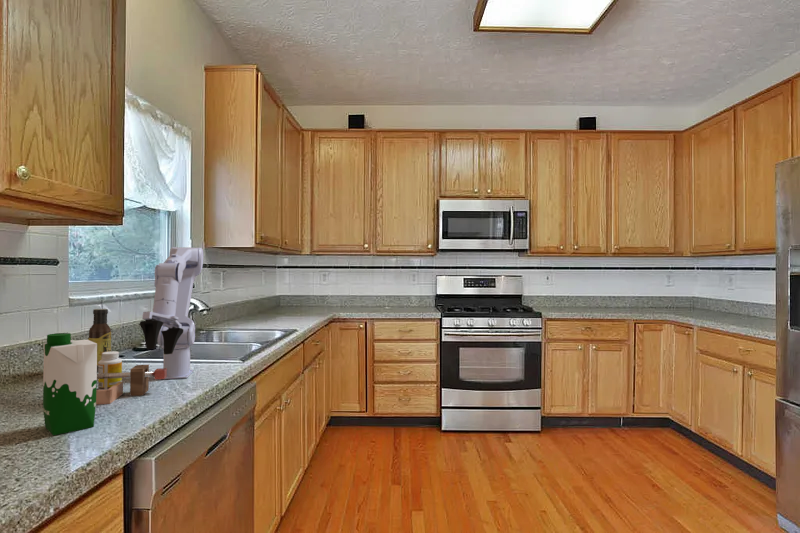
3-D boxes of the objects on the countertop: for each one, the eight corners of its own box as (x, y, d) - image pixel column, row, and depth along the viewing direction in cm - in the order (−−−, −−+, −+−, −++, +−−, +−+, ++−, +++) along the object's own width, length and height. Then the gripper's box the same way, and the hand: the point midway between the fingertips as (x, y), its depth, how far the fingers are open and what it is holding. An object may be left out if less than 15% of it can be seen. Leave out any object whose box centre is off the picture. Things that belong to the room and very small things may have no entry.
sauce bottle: (106, 371, 147) (107, 309, 147) (84, 372, 146) (85, 310, 146) (113, 367, 153) (114, 308, 153) (92, 368, 152) (93, 308, 152)
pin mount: (136, 390, 126) (136, 364, 126) (148, 390, 127) (148, 364, 127) (130, 396, 121) (130, 369, 121) (142, 395, 122) (142, 368, 122)
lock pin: (99, 379, 123) (99, 370, 123) (166, 376, 126) (166, 368, 126) (96, 381, 120) (96, 372, 120) (164, 379, 124) (164, 370, 124)
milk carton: (38, 427, 97) (40, 333, 97) (88, 417, 104) (90, 329, 104) (48, 438, 91) (49, 338, 91) (100, 426, 98) (102, 333, 98)
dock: (80, 395, 120) (80, 383, 120) (122, 393, 123) (123, 381, 123) (64, 406, 112) (64, 392, 112) (110, 403, 114) (110, 390, 114)
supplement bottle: (125, 386, 130) (126, 350, 130) (115, 392, 124) (115, 354, 124) (104, 386, 129) (105, 350, 129) (93, 392, 124) (94, 354, 124)
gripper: (162, 293, 122) (156, 344, 117) (192, 308, 135) (188, 354, 130) (138, 296, 122) (131, 347, 117) (170, 311, 136) (165, 357, 131)
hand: (159, 351), depth 124 cm, fingers open, 7 cm apart
